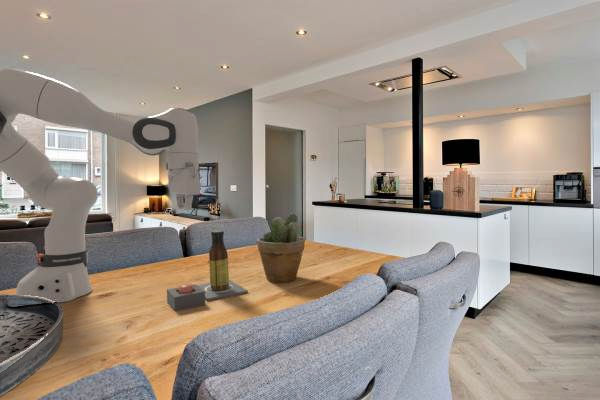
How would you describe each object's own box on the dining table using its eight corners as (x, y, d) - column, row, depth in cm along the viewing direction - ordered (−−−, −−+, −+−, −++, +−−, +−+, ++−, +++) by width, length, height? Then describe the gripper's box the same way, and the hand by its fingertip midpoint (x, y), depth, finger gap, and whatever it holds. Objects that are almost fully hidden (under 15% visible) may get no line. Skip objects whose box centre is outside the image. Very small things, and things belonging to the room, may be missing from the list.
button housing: (174, 310, 98) (174, 297, 98) (167, 301, 106) (166, 289, 105) (205, 304, 103) (205, 291, 103) (195, 296, 111) (195, 284, 110)
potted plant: (299, 287, 120) (299, 217, 119) (250, 284, 124) (249, 216, 123) (308, 273, 138) (308, 212, 137) (265, 271, 142) (264, 212, 141)
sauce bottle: (231, 285, 119) (231, 229, 117) (225, 291, 113) (225, 233, 111) (213, 284, 119) (212, 228, 117) (206, 290, 113) (205, 232, 111)
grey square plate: (207, 301, 106) (207, 298, 106) (191, 288, 119) (191, 285, 119) (247, 292, 114) (247, 290, 114) (229, 281, 127) (228, 279, 127)
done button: (180, 299, 101) (180, 288, 101) (176, 295, 105) (176, 285, 105) (194, 296, 104) (194, 286, 104) (190, 293, 107) (190, 283, 107)
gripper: (205, 162, 96) (206, 210, 96) (184, 165, 112) (185, 207, 113) (182, 161, 92) (183, 212, 93) (164, 164, 109) (165, 207, 110)
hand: (184, 209), depth 103 cm, fingers open, 6 cm apart
